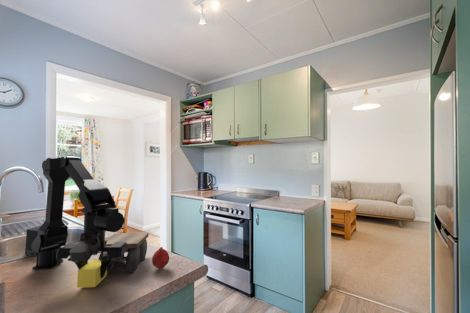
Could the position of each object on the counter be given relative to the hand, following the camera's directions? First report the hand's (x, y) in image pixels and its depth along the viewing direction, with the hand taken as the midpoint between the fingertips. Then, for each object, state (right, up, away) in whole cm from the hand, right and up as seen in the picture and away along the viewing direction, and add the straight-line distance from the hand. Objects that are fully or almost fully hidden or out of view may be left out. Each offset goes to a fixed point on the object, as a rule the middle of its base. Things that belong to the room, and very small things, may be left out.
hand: (93, 277), depth 68 cm
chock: (0, -1, 0) cm, 1 cm away
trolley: (+4, -3, +13) cm, 13 cm away
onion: (+18, -3, +10) cm, 20 cm away
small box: (-38, -3, +25) cm, 45 cm away
